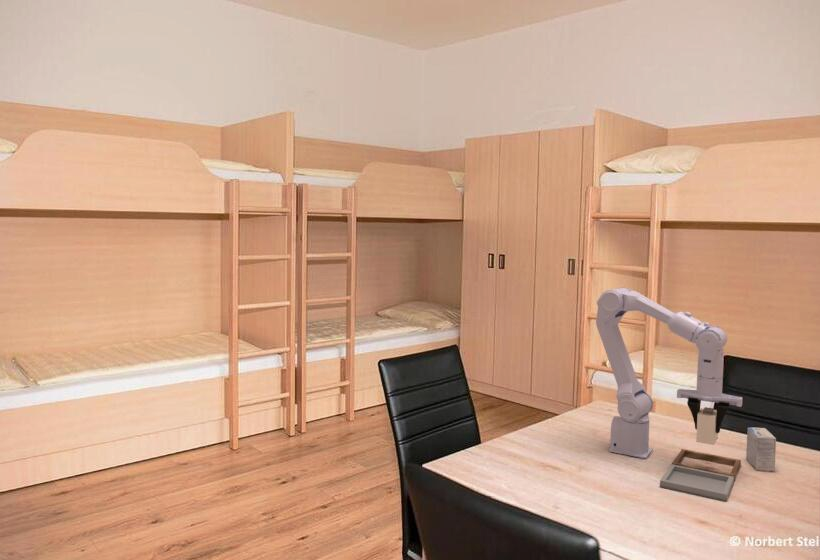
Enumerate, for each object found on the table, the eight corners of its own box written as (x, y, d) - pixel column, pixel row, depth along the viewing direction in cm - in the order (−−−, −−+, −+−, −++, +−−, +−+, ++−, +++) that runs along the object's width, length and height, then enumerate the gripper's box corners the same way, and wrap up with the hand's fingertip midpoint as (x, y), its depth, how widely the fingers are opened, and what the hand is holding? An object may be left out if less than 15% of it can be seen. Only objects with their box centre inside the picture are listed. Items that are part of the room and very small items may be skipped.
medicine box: (775, 472, 157) (777, 438, 156) (755, 470, 158) (757, 436, 157) (764, 460, 165) (766, 427, 164) (745, 459, 166) (747, 426, 165)
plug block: (696, 441, 157) (697, 410, 156) (700, 435, 162) (701, 405, 161) (714, 445, 155) (715, 413, 154) (717, 438, 160) (719, 407, 159)
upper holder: (671, 469, 159) (672, 463, 159) (681, 454, 169) (681, 448, 169) (734, 481, 151) (734, 475, 151) (740, 465, 161) (741, 459, 161)
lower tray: (659, 487, 148) (660, 480, 148) (670, 470, 158) (671, 464, 158) (726, 501, 140) (726, 494, 140) (733, 483, 150) (734, 476, 150)
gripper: (675, 375, 157) (673, 429, 159) (741, 383, 149) (738, 440, 151) (680, 370, 163) (678, 421, 164) (744, 377, 155) (741, 432, 157)
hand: (707, 430), depth 158 cm, fingers closed on plug block, 4 cm apart
